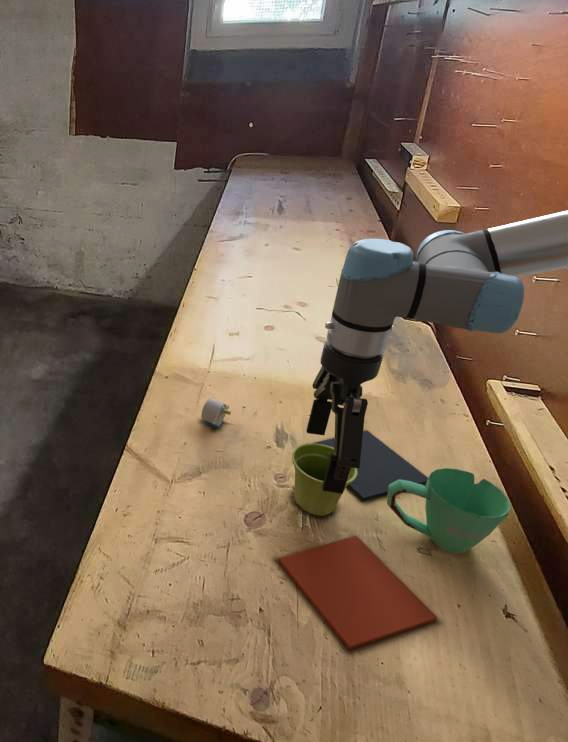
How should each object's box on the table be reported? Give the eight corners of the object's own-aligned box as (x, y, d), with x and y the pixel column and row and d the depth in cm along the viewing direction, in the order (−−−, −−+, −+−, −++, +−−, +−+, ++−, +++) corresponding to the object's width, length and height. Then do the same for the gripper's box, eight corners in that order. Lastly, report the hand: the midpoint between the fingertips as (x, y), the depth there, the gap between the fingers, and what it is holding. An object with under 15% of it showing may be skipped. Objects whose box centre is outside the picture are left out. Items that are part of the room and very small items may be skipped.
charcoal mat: (430, 482, 97) (431, 479, 97) (362, 500, 94) (363, 497, 93) (366, 432, 109) (367, 430, 109) (304, 447, 106) (305, 444, 106)
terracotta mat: (436, 620, 75) (437, 617, 75) (348, 649, 72) (349, 646, 71) (355, 538, 87) (356, 535, 87) (277, 560, 84) (278, 557, 84)
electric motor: (219, 437, 109) (223, 417, 107) (197, 427, 112) (199, 407, 110) (235, 420, 114) (238, 400, 111) (213, 411, 117) (215, 391, 114)
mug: (473, 522, 89) (494, 474, 84) (499, 574, 81) (523, 524, 76) (369, 503, 93) (384, 457, 89) (383, 551, 85) (400, 502, 80)
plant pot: (349, 531, 88) (361, 489, 84) (284, 516, 91) (293, 475, 88) (341, 489, 96) (353, 450, 92) (282, 477, 99) (290, 438, 95)
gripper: (310, 305, 92) (286, 410, 101) (345, 392, 70) (312, 514, 80) (360, 309, 90) (332, 415, 100) (413, 400, 69) (370, 524, 78)
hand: (323, 460), depth 90 cm, fingers open, 13 cm apart
